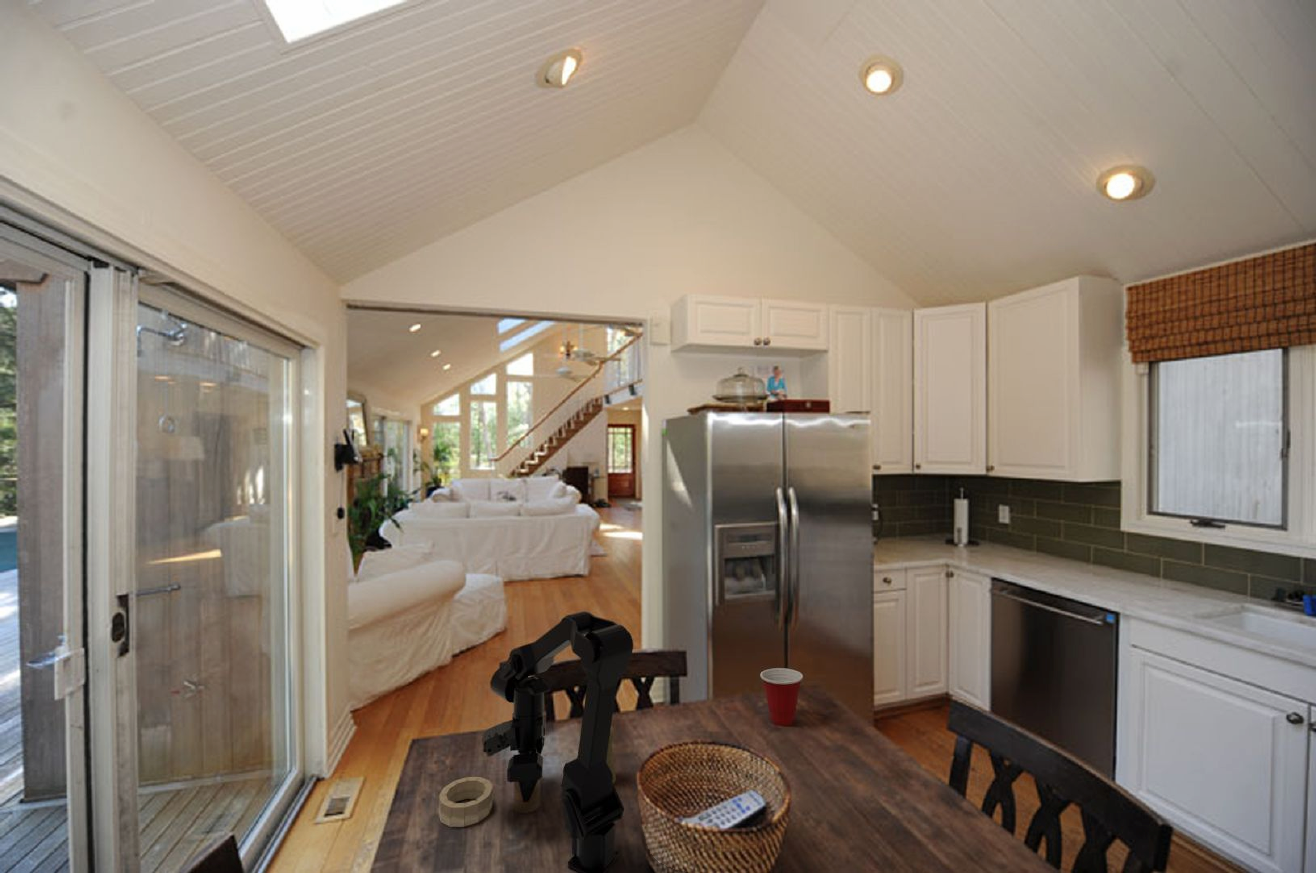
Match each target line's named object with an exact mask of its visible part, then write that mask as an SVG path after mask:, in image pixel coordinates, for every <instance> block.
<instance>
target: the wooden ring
mask: <svg viewBox="0 0 1316 873" xmlns="http://www.w3.org/2000/svg"><path fill="white" fill-rule="evenodd" d="M493 792H494V791H493V785H492V783H491V781H490V780H488V779H486V778H484V777H480V776H468V777H462V778H460V779H456V780H454V781H451V782H450V783H448V784H447V785H446V786H445V787H443V789H442V790H441V791H440V794H439V795H438V817H439V821H440V823H442V824H444V825H445V826H448V827H449V828H450V827H451V828H463V827H468V826H471V825H474V824H477V823H479V822H481V821H482V820H484V819H485V818H486V817H487V816H489V814H490V812H491V810H492V808H493V795H494V794H493ZM466 799H467V800H468V799H469V800H471V799H472V800H471V801H468V802H461V801H465V800H466ZM473 799H474V800H473Z"/></svg>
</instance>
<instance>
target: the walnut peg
mask: <svg viewBox="0 0 1316 873" xmlns="http://www.w3.org/2000/svg"><path fill="white" fill-rule="evenodd" d="M530 753H531V751H530ZM537 753H538V752H537ZM523 754H524V752H523ZM539 754H540V753H539ZM540 804H541V779H539V780H538V782H537V784H536V786H535V789H534V791H533V793H532V796H531V798H530V800H529V802H523V799H522V795H521V791H520V787H519V783H518V782H513V809H514V810H515V811H516V812H517V813H520V814H528V813H533V812H534V811H536V810H538V808H539V807H540Z"/></svg>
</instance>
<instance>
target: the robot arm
mask: <svg viewBox="0 0 1316 873" xmlns="http://www.w3.org/2000/svg"><path fill="white" fill-rule="evenodd" d="M568 647H571V651H572V653H574V655H575V656H577V657H579V658H580V666H581V668H582V670H583V672H584V674H585V676H586V677H587V684H586V690H585V692H586V693H585V698H584V706H583V713H582V720H581V728H580V733H579V734H580V735H579V741H578V742H579V743H578V749H577V757H576V758H575V759H573V760H570V761H568V762H566V763H565V764H564V766H563V768H562V778H561V779H562V780H561V783H560V784H559V785H560V788H562V789H561V797H560V798H561V799H560V801H561V807H562V812H563V814H562V815H563V818H564V824H565V829H566V830H567V831H568V832H569V838H571V855H572V857H571V858H570V859H569V860H568V861H567V867H568V868H570V869H572V870H574V871H577V872H579V873H607V872H608V870H610V868H611V867H612V866H613V864H614V863H615V862H616V861H617V860H618V858H620V851H618V850H616V849H615V844H616V843H615V840H616V839H615V837H616V836H615V831H616V829H615V828H616V826H615V822H617V821H619V820H621V819H622V818H623V817H624V816H623V815H624V812H625V807H624V804H623V802H622V800H621V798H620V796H619V793H618V791H617V790H616V787H615V783H614V784H613V772H612V771H611V769H610V767H609V765H608V763H607V752H608V745H609V738H610V730H611V726H612V722H613V714H614V708H615V700H616V693H617V687H618V682H619V681H620V679H621V677H622V676H623V675H624V673H625V672H626V670H627V669H628V667H629V664H630V661H631V657H632V654H633V650H634V639H633V636H632V634H631V633H630V631H629V630H628V629H627V628H626V627H625V626H624V625H621V624H618V623H616V622H614V621H613V620H609V619H607V618H606V619H605V618H602V617H598V616H595V615H594V614H592V613H591V612H589V611H585V610H584V611H579V612H575V613H571V614H567V615H565V616H564V617H562V618H561V620H560V622H558V623H557V624H555V625H554V626H553V627H551V628H550V629H549V630H548V631H546V632H544V634H542V635H541V636H539V638H537V639H536V640H535V641H532V642H531V643H530V642H529V643H527V644H523V645H521V646H517V647H515V648H513V649H511V651H510V652H509V655H508V658H507V659H506V660H505V661H504V660H503V661H501V662H499V664H498V665H499V667H498V668H497V669H496V671H494V673H493V675H492V676H491V680H490V681H489V682H490V683H489V687H490V690H491V691H492V693H494V694H496V695H497V696H499V697H500V698H502V699H503V700H504V701H506V702H508V703H511V704H513V713H512V715H511V716H512V717H511V718H512V719H511V720H508V721H503V722H501V723H499V724H496V725H494V726H492V727H489V728H488V729H486V730H485V731H484V732H483V736H482V739H481V743H482V745H483V748H482V752H483V753H485V754H486V756H487V757H492V756H494V755H495V754H497V753H500V752H502V751H503V750H506V749H508V748H509V752H512V751H513V752H514V751H517V754H513V756H512V757H510V759H508V764H507V770H506V782H509V783H514V782H518V783H519V787H520V791H521V795H522V799H523V802H529V800H530V798H531V796H532V793H533V791H534V789H535V786H536V784H537V782H538V780H539V779H540V780H541V779H542V778H543V771H544V757H543V755H541V754H542V751H543V748H544V747H545V739H546V738H545V736H546V719H544V714H545V709H544V706H545V705H544V702H545V700H544V699H545V698H544V697H545V696H544V694H545V693H546V692H549V691H551V690H550V686H549V684H548V683H547V682H545V679H544V678H543V677H539V678H538V677H536V676H535V675H538V674H541V673H543V672H546V671H547V670H549V668H550V667H551V666H552V665H553V664H554V662H555V656H557V655H558V654H559V653H561V652H562V651H564V650H565V649H567V648H568ZM530 751H531V753H530ZM523 752H524V754H523ZM537 752H538V753H537ZM539 753H540V754H539Z"/></svg>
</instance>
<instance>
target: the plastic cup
mask: <svg viewBox="0 0 1316 873" xmlns="http://www.w3.org/2000/svg"><path fill="white" fill-rule="evenodd" d="M759 676H760V678H761V681H763V682H762V683H763V686H764V690H765V697H766V702H767V703H766V704H767V707H768V713H769V718H770V721H771V723H773V724H775V725H777V726H781V727H789V726H792V724H794V721H795V714H796V711H797V704H798V699H799V698H798V697H799V690H800V686H801V683H802V680H803V678H804V676H803V673H801V672H800V671H797V670H795V669H790V668H784V667H783V668H782V667H781V668H780V667H776V668H770V669H765V670H763V671H761V672H760V675H759Z"/></svg>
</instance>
